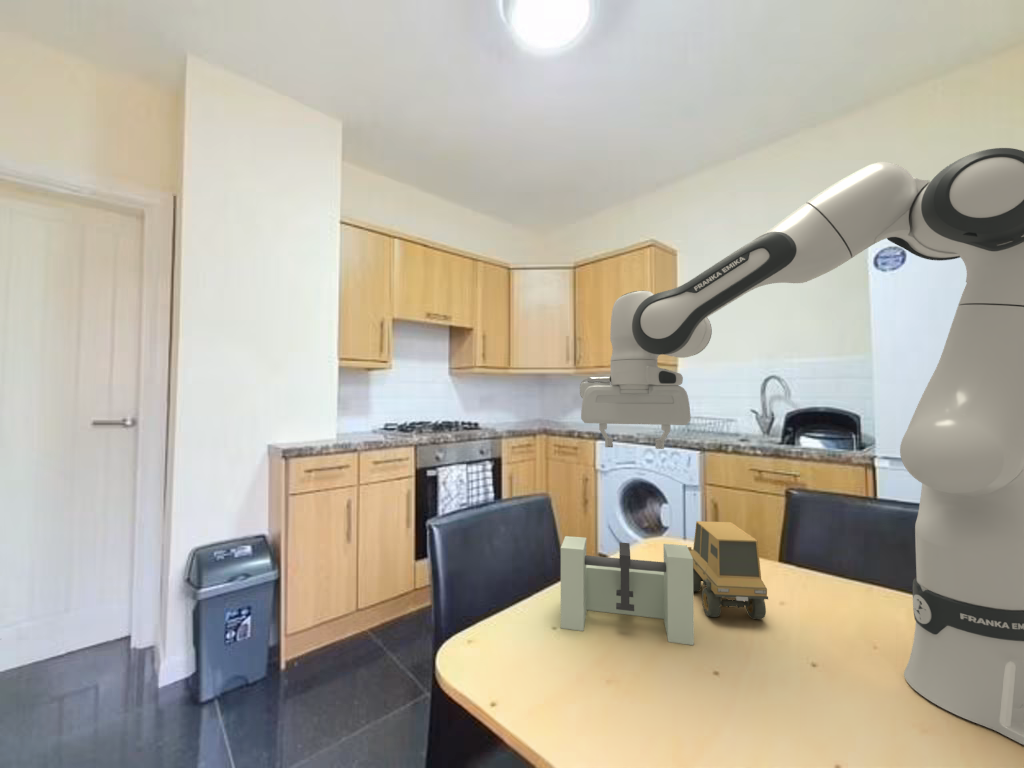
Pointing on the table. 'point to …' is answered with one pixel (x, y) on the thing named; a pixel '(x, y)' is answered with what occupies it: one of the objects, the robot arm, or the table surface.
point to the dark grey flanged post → (624, 579)
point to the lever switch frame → (652, 583)
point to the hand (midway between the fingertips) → (634, 448)
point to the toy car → (727, 569)
